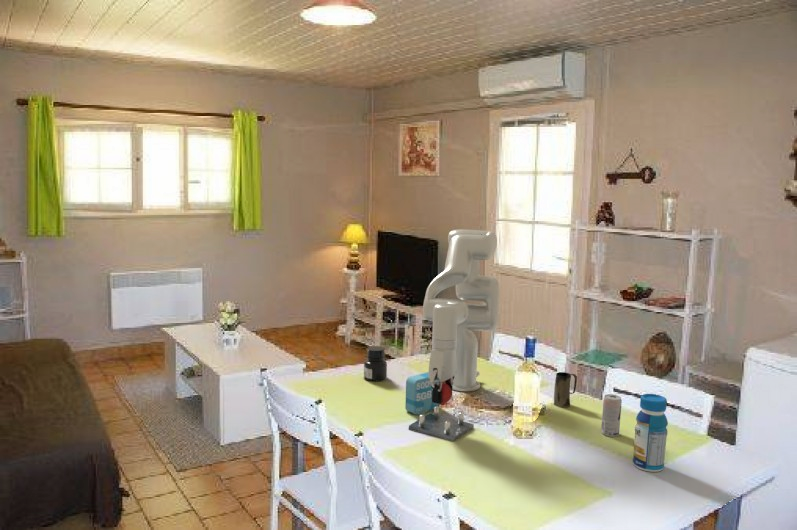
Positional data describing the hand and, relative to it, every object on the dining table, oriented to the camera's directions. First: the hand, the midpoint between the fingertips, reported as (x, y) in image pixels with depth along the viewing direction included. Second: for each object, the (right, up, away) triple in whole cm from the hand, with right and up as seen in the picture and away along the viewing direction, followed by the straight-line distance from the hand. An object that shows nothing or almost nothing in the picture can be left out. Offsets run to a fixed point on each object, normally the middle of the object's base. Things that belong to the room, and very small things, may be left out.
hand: (442, 399), depth 204 cm
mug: (+44, -7, +25) cm, 51 cm away
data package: (-5, -7, +17) cm, 20 cm away
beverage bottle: (+56, -14, -21) cm, 62 cm away
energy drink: (+53, -11, +1) cm, 54 cm away
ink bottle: (-23, -2, +49) cm, 54 cm away
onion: (0, -2, 0) cm, 2 cm away
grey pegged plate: (0, -9, +2) cm, 10 cm away
